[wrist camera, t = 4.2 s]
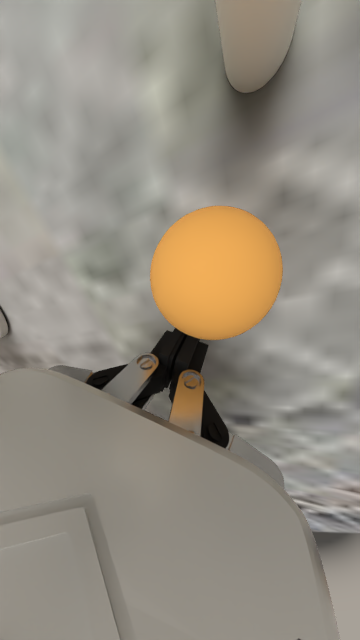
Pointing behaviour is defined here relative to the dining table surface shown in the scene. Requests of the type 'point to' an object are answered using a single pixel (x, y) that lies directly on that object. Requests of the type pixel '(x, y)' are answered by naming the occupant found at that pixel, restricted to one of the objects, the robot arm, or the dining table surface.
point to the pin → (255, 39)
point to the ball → (216, 272)
